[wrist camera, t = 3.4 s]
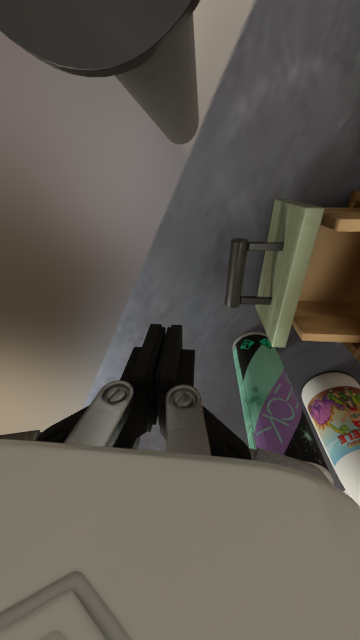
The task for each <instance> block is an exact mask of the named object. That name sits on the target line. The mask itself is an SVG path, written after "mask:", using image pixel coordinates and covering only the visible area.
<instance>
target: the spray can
mask: <svg viewBox="0 0 360 640" xmlns="http://www.w3.org/2000/svg"><path fill="white" fill-rule="evenodd" d="M233 356H234V362H235V368H236V373H237V379H238V385H239V391H240V396H241V402H242V408H243V413H244V419H245V425H246V431H247V436H248V442H249V448H252V449H255V450H256V449H257V447H258V448H261V449H264V450H268V451H271V452H274V453H278V454H281V455H284V456H288V457H291V458H294V459H298V460H301V461H304V462H308V463H310V464H312V465H314V466H316V467H318V468H319V469H320V470H321V471H322V472H323V473H324V474H325V475H326V477H327V478H328V479H329V482H330V484H331V485H333V479H332V477H331V475H330V472H329V470H328V468H327V465H326V463H325V461H324V458H323V456H322V454H321V451H320V449H319V447H318V445H317V442H316V440H315V438H314V435H313V433H312V431H311V428H310V426H309V424H308V421H307V419H306V417H305V415H304V412H303V410H302V408H301V405H300V403H299V401H298V398H297V396H296V394H295V391H294V389H293V387H292V384H291V382H290V380H289V378H288V375H287V373H286V371H285V368H284V366H283V364H282V361H281V359H280V357H279V354H278V352H277V350H276V348H275V347H272V345H271V343H270V341H269V338H268V336H267V334H265V333H262V332H257V331H253V332H247V333H245V334H242V335H241V336H239V337H238V338H237V339H236V340H235V342H234V344H233Z"/></svg>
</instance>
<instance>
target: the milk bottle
mask: <svg viewBox="0 0 360 640" xmlns="http://www.w3.org/2000/svg"><path fill="white" fill-rule="evenodd" d="M302 400H303V402H304V405H305V407H306V409H307V411H308V414H309V416H310V418H311V420H312V422H313V425H314V427H315V429H316V431H317V433H318V436H319V438H320V440H321V442H322V444H323V446H324V449H325V451H326V453H327V455H328V457H329V459H330V461H331V463H332V465H333V467H334V469H335V471H336V473H337V475H338V477H339V479H340V481H341V483H342V484H343V486H344V488H345V489H346V490H347V492H348V493H349V495H350V496H351V497H352V498H353V500H354V501H355V502H356V503H357V504H358V505H359V506H360V385H359V384H358V383H357V381H356V380H355V379H354V378H352V377H350V376H349V375H346V374H343V373H334V372H332V373H326V374H321V375H319V376H316V377H315V378H313V379H311V380H310V381H309V382H308V383H307V384H306V385H305V386H304V388H303V390H302Z"/></svg>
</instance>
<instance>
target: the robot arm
mask: <svg viewBox="0 0 360 640" xmlns="http://www.w3.org/2000/svg"><path fill="white" fill-rule="evenodd" d="M194 363H195V350H186V349H182V325H172V326H171V327H168V328H167V332H166V333H165V327H162V325H161V324H151V325H150V327H149V330H148V333H147V335H146V338H145V341H144V343H143V346H142V347H134V349H133V351H132V353H131V356H130V358H129V360H128V363H127V365H126V367H125V370H124V372H123V374H122V377H121V379H120V381H113V382H111V383H108V384H107V385H105V386H104V387H103V388H102V389H101V390H100V391H99V393H98V394H97V396H96V397H95V399H94V400H93V401H92V403H91V404H90V405H89V406H87V407H86V408H84V409H82V410H80V411H78V412H76V413H74V414H73V415H71V416H69V417H67V418H65V419H63V420H61V421H60V422H58V423H56V424H54V425H52V426H51V427H49V428H47V429H46V430H45V431H44V432H40V430H35V431H27V432H20V433H13V434H6V435H0V640H360V506H359V505H358V504H357V503H356V502H355V501H354V500H353V499H352V498H351V497H349V496H348V495H346V494H345V493H344V492H343V491H341V490H339V489H338V488H336V487H335V486H333V485H331V484H330V482H329V479H328V478H327V477H326V475H325V474H324V473H323V472H322V471H321V470H320V469H319V468H318V467H316V466H314V465H312V464H310V463H308V462H304V461H301V460H298V459H294V458H291V457H288V456H284V455H281V454H278V453H274V452H271V451H268V450H264V449H261V448H258V447H257V449H256V450H255V449H252V448H248V447H247V445H246V444H245V443H244V442H243V441H242V440H241V439H240V438H239V437H238V436H236V435H235V434H234V433H233V432H232V431H231V430H230V429H228V428H227V427H226V426H225V425H224V424H223V423H222V422H221V421H219V420H218V419H217V418H216V417H215V416H214V415H213V414H212V413H210V412H209V411H208V410H207V409H206V408H205V407H204V406H202V401H201V396H200V393H199V392H198V390H197V389H196V388H194V387H193V385H194ZM157 417H158V420H159V425H160V433H161V434H162V435H163V437H164V438H165V439H166V452H162V451H150V450H139V449H137V447H138V445H139V442H140V436H141V435H143V434H144V433H145V432H151V427H152V425H156V422H157Z"/></svg>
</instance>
